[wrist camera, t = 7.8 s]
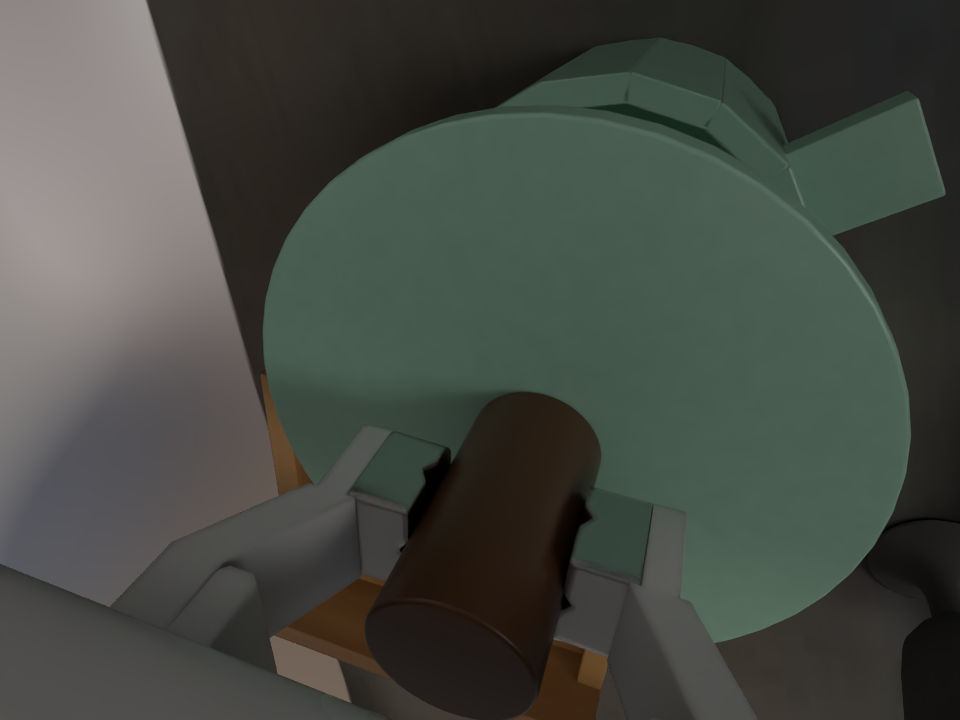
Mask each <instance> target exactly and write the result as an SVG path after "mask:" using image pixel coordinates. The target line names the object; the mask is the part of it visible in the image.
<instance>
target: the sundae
mask: <svg viewBox="0 0 960 720" xmlns="http://www.w3.org/2000/svg"><path fill="white" fill-rule="evenodd" d="M867 562H868V566H869V568H870V571H871V573H872V574H873V575H874V577H875V578H876V579H877V580H878V581H879V582H880V583H881V584H883V585H884V586H885V587H886V588H888V589H890V590H892V591H894V592H896V593H899V594H902V595H904V596H908V597H913V598H918V599H924V600H927V602H928V604H929V608H930V611H931V615H932V618H929V619H926V620H925V621H923V622H922V623H921V624H920V625H919V626H918V627H916V628H915V629H914V630H913V631H912V632H911V633H910V634H909V635H908V636H907V637H906V639H905V641H904V644H903V648H902V667H901V680H902V693H903V706H904V720H960V524H958V523H953V522H947V521H939V520H921V521H913V522H907V523H904V524H901V525H898V526H895V527H893V528H891V529H889V530H886V531H885V532H884V533H882V534H881V535H880V536H879V538H878V540H877V541H876V543H875V545H874V546H873V548H872V549H871V550H870V551H869V552H868V555H867Z"/></svg>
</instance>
